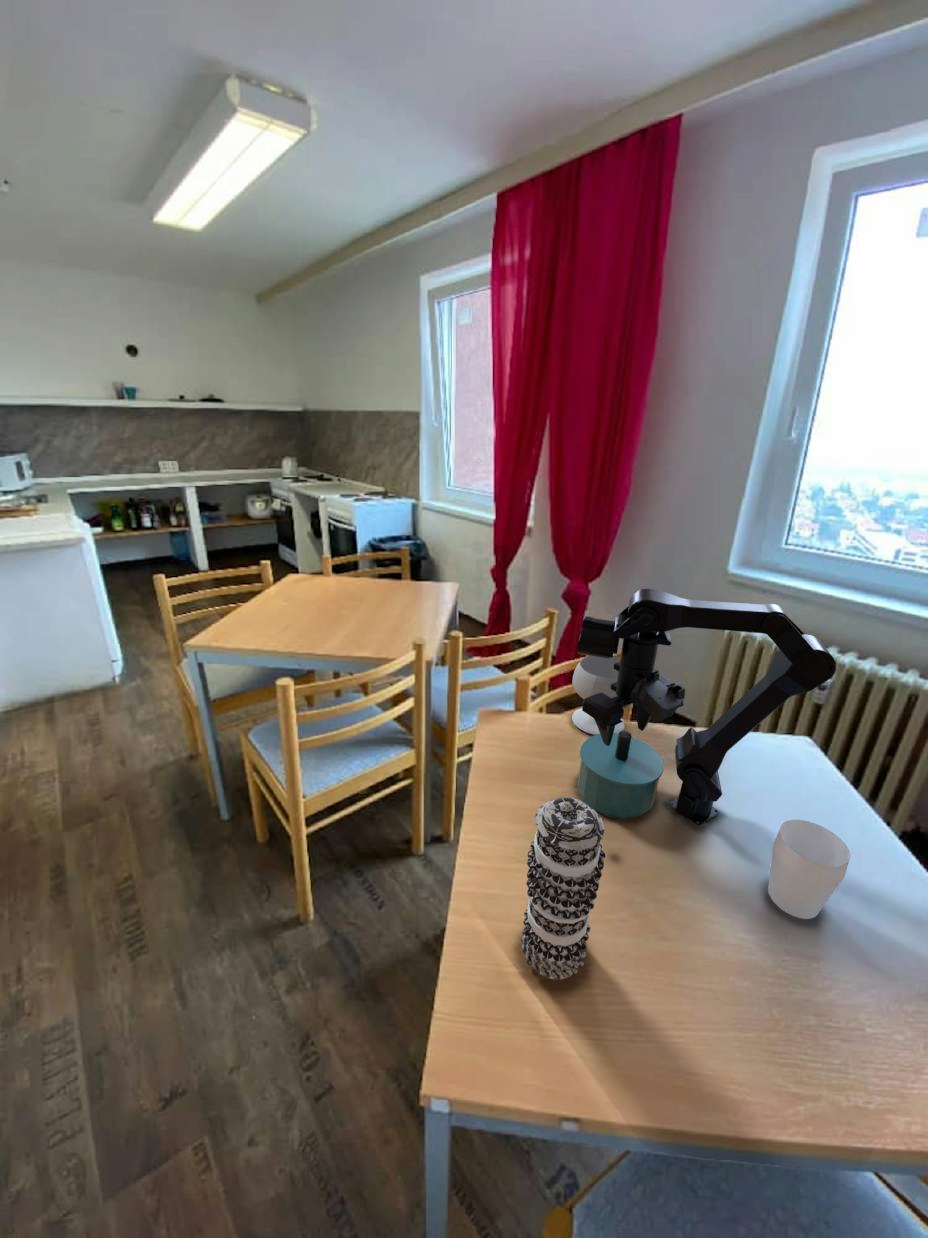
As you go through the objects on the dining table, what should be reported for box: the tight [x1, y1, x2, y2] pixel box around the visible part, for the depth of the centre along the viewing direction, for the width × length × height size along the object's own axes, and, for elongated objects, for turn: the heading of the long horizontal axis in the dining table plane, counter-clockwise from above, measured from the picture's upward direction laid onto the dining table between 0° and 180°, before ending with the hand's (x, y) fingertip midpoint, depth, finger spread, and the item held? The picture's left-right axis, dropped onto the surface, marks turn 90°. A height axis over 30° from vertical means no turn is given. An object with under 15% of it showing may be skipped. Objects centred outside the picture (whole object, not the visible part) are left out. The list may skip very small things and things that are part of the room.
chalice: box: [571, 655, 626, 736], centre depth 120 cm, size 14×14×15 cm
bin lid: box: [579, 730, 665, 786], centre depth 97 cm, size 15×15×6 cm
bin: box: [577, 759, 660, 820], centre depth 99 cm, size 14×14×8 cm
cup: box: [767, 819, 851, 920], centre depth 77 cm, size 9×9×12 cm
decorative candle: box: [521, 796, 606, 981], centre depth 66 cm, size 9×9×25 cm
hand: (624, 737), depth 96 cm, fingers open, 9 cm apart
